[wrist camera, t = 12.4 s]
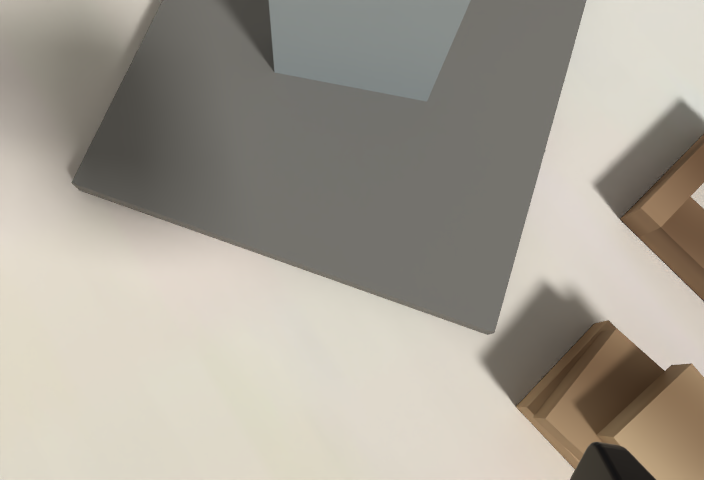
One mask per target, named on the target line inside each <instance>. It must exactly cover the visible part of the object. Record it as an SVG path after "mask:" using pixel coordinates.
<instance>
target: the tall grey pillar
mask: <svg viewBox="0 0 704 480" xmlns="http://www.w3.org/2000/svg"><path fill="white" fill-rule="evenodd" d="M470 1H471V0H269V10H270V23H271V35H272V47H273V60H274V72H275V73H280V74H285V75H290V76H296V77H301V78H306V79H311V80H317V81H322V82H327V83H332V84H338V85H343V86H348V87H353V88H359V89H364V90H369V91H374V92H380V93H385V94H390V95H395V96H401V97H406V98H411V99H416V100H422V101H427V100H428V98H429V95H430V93H431V91H432V89H433V86H434V84H435V82H436V79H437V77H438V75H439V72H440V70H441V68H442V65H443V63H444V61H445V58H446V56H447V54H448V52H449V49H450V47H451V45H452V42H453V40H454V38H455V35H456V33H457V31H458V28H459V26H460V24H461V21H462V19H463V17H464V15H465V12H466V10H467V8H468V5H469V3H470Z"/></svg>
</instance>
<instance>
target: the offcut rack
mask: <svg viewBox="0 0 704 480" xmlns="http://www.w3.org/2000/svg"><path fill="white" fill-rule="evenodd" d="M703 183H704V134H703V135H702V136H701V137H700V138H699V139H698V140H697V141H696V142H695V143H694V144H693V146H692V147H691V148H690V149H689V150H688V151H687V152H686V153H685V154H684V155H683V156H682V157H681V158H680V159H679V160H678V161H677V162H676V163H675V164H674V165H673V166H672V167H671V168H670V169H669V170H668V171H667V172H666V173H665V174H664V175H663V176H662V177H661V178H660V179H659V180H658V181H657V182H656V183H655V184H654V185H653V186H652V187H651V188H650V189H649V190H648V191H647V192H646V193H645V194H644V195H643V196H642V197H641V198H640V199H639V200H638V201H637V203H636V204H635V205H634V206H633V207H632V208H631V209H630V210H629V211H628V212H627V213H626V214H625V215H624V216H623V217H622V218H621V219H620V220H622V221H623V222H624V223H625V224H626V225H627V226H628V227H629V228H630V229H631V230H632V231H633V232H634V233H635V234H636V235H637V236H638V237H639V238H640V239H641V240H642V241H643V242H644V243H645V244H646V245H647V246H648V247H649V248H650V249H651V250H652V251H653V252H654V253H655V254H656V255H657V256H658V257H659V258H660V259H662V260H663V261H664V262H665V263H666V264H667V265H668V266H669V267H670V268H671V269H672V270H673V271H674V272H675V273H676V274H677V275H678V276H679V277H680V278H681V279H682V280H683V281H684V282H685V283H686V284H687V285H688V286H689V287H690V288H691V289H692V290H693V291H694V292H695V293H696V294H697V295H698V296H699V297H700V298H701V299H703V300H704V209H703V208H702V207H701V206H700V205H699V204H698V203H697V202H696V201H694V200H693V199H692V198H691V197H690V196H691V195H692V194H693V193H694V192H695V191H696V190H697V189H698V188H699V187H700V186H701V185H702V184H703ZM516 407H517V408H518V409H519V410H520V412H521V413H522V414H523V415H524V416H525V417H526V418H527V419H528V420H529V421H530V422H531V423H532V424H533V425H534V426H535V427H536V428H537V430H538V431H539V432H540V433H541V434H542V435H543V436H544V437H545V438H546V439H547V440H548V441H549V442H550V443H551V444H552V445H553V446H554V448H555V449H556V450H557V451H558V452H559V453H560V454H561V455H562V456H563V457H564V458H565V459H566V460H567V461H568V462H569V463H570V464H571V466H572V467H573V468H574V469H576V467H577V465H578V463H579V462H580V460H581V458H582V456H583V454H584V452H585V450H586V449H587V447H588V446H589V445H590V444H591V443H593V442H602V443H608V444H614V445H620V446H622V447H624V448H626V449H627V450H628V451H629V452H630V453H631V454H632V455H633V456H634V457H635V458H636V459H637V460H638V461H639V462H640V463H641V464H642V465H643V466H644V467H645V468H646V469H647V470H648V471H649V472H650V474H651V475H652V476H653V477H654V478H655V479H656V480H704V377H703V376H702V375H701V374H700V373H699V371H698V370H697V369H696V368H695V367H694V366H693V364H681V365H671V366H670V367H669V368H668V369H667V370H666V371H664V370H663V369H662V368H661V367H660V366H658V365H657V364H656V363H655V362H654V361H653V360H652V359H651V358H649V357H648V356H647V355H646V354H645V353H644V352H643V351H642V350H640V349H639V348H638V347H637V346H636V345H635V344H634V343H633V342H631V341H630V340H629V339H628V338H627V337H626V336H625V335H624V334H622V333H621V332H620V331H619V330H618V329H617V328H616V327H615V326H614V325H613V324H612V323H611V322H610V321H609V320H608V321H603V322H599V323H595V324H593V325H592V326H591V328H590V329H589V330H588V331H587V332H586V333H585V334H584V335H583V336H582V337H581V338H580V339H579V340H578V341H577V342H576V343H575V345H574V346H573V347H572V348H571V349H570V350H569V351H568V352H567V353H566V354H565V355H564V356H563V357H562V358H561V359H560V360H559V362H558V363H557V364H556V365H555V366H554V367H553V368H552V369H551V370H550V371H549V372H548V373H547V374H546V375H545V376H544V378H543V379H542V380H541V381H540V382H539V383H538V384H537V385H536V386H535V387H534V388H533V389H532V390H531V391H530V392H529V393H528V395H527V396H526V397H525V398H524V399H523V400H522V401H521V402H520V403H519V404H518V405H517V406H516Z"/></svg>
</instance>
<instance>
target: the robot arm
mask: <svg viewBox="0 0 704 480" xmlns="http://www.w3.org/2000/svg"><path fill="white" fill-rule="evenodd" d="M570 480H656V479H655V478H654V477H653V476H652V475H651V474H650V472H649V471H648V470H647V469H646V468H645V467H644V466H643V465H642V464H641V463H640V462H639V461H638V460H637V459H636V458H635V457H634V456H633V455H632V454H631V453H630V452H629V451H628V450H627V449H626V448H624V447H622V446H620V445H614V444H608V443H602V442H593V443H591V444H590V445H589V446H588V447H587V449H586V450H585V452H584V454H583V456H582V458H581V460H580V462H579V463H578V465H577V467H576V469H575V471H574V473H573V475H572V477H571V479H570Z"/></svg>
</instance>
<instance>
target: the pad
mask: <svg viewBox="0 0 704 480" xmlns="http://www.w3.org/2000/svg"><path fill="white" fill-rule="evenodd" d="M585 3H586V0H471V1H470V3H469V5H468V8H467V10H466V12H465V15H464V17H463V19H462V21H461V24H460V26H459V28H458V31H457V33H456V35H455V38H454V40H453V42H452V45H451V47H450V49H449V52H448V54H447V56H446V58H445V61H444V63H443V65H442V68H441V70H440V72H439V75H438V77H437V79H436V82H435V84H434V86H433V89H432V91H431V93H430V95H429V98H428V100H427V101H422V100H416V99H411V98H406V97H401V96H395V95H390V94H385V93H380V92H374V91H369V90H364V89H359V88H353V87H348V86H343V85H338V84H332V83H327V82H322V81H317V80H311V79H306V78H301V77H296V76H290V75H285V74H280V73H275V72H274V60H273V47H272V35H271V23H270V10H269V0H163V1H162V3H161V5H160V7H159V9H158V11H157V13H156V15H155V17H154V19H153V21H152V23H151V25H150V27H149V29H148V31H147V33H146V35H145V37H144V39H143V41H142V43H141V45H140V47H139V49H138V51H137V53H136V55H135V57H134V59H133V61H132V63H131V65H130V67H129V69H128V71H127V73H126V75H125V77H124V79H123V81H122V83H121V85H120V87H119V89H118V91H117V93H116V95H115V97H114V99H113V101H112V103H111V105H110V107H109V109H108V111H107V113H106V115H105V117H104V119H103V121H102V123H101V125H100V127H99V129H98V131H97V133H96V135H95V137H94V139H93V141H92V143H91V145H90V147H89V149H88V151H87V153H86V155H85V157H84V159H83V161H82V163H81V165H80V167H79V169H78V171H77V173H76V175H75V177H74V179H73V181H72V184H73V185H74V186H76V187H77V188H78V189H79V190H81V191H83V192H86V193H89V194H92V195H95V196H98V197H100V198H103V199H106V200H109V201H112V202H115V203H117V204H120V205H123V206H126V207H129V208H131V209H134V210H137V211H140V212H143V213H146V214H148V215H151V216H154V217H157V218H160V219H163V220H165V221H168V222H171V223H174V224H177V225H179V226H182V227H185V228H188V229H191V230H194V231H196V232H199V233H202V234H205V235H208V236H210V237H213V238H216V239H219V240H222V241H225V242H227V243H230V244H233V245H236V246H239V247H242V248H244V249H247V250H250V251H253V252H256V253H258V254H261V255H264V256H267V257H270V258H273V259H275V260H278V261H281V262H284V263H287V264H290V265H292V266H295V267H298V268H301V269H304V270H306V271H309V272H312V273H315V274H318V275H321V276H323V277H326V278H329V279H332V280H335V281H338V282H340V283H343V284H346V285H349V286H352V287H354V288H357V289H360V290H363V291H366V292H369V293H371V294H374V295H377V296H380V297H383V298H385V299H388V300H391V301H394V302H397V303H400V304H402V305H405V306H408V307H411V308H414V309H417V310H419V311H422V312H425V313H428V314H431V315H433V316H436V317H439V318H442V319H445V320H448V321H450V322H453V323H456V324H459V325H462V326H465V327H467V328H470V329H473V330H476V331H479V332H481V333H484V334H487V335H488V334H492V333H494V332H495V329H496V325H497V321H498V318H499V314H500V311H501V307H502V303H503V300H504V296H505V292H506V289H507V285H508V282H509V278H510V274H511V271H512V267H513V264H514V260H515V256H516V253H517V249H518V246H519V242H520V238H521V235H522V231H523V227H524V224H525V220H526V217H527V213H528V209H529V206H530V202H531V199H532V195H533V191H534V188H535V184H536V180H537V177H538V173H539V170H540V166H541V162H542V159H543V155H544V152H545V148H546V144H547V141H548V137H549V133H550V130H551V126H552V123H553V119H554V115H555V112H556V108H557V105H558V101H559V97H560V94H561V90H562V86H563V83H564V79H565V76H566V72H567V68H568V65H569V61H570V58H571V54H572V50H573V47H574V43H575V39H576V36H577V32H578V29H579V25H580V21H581V18H582V14H583V11H584V7H585Z"/></svg>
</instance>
